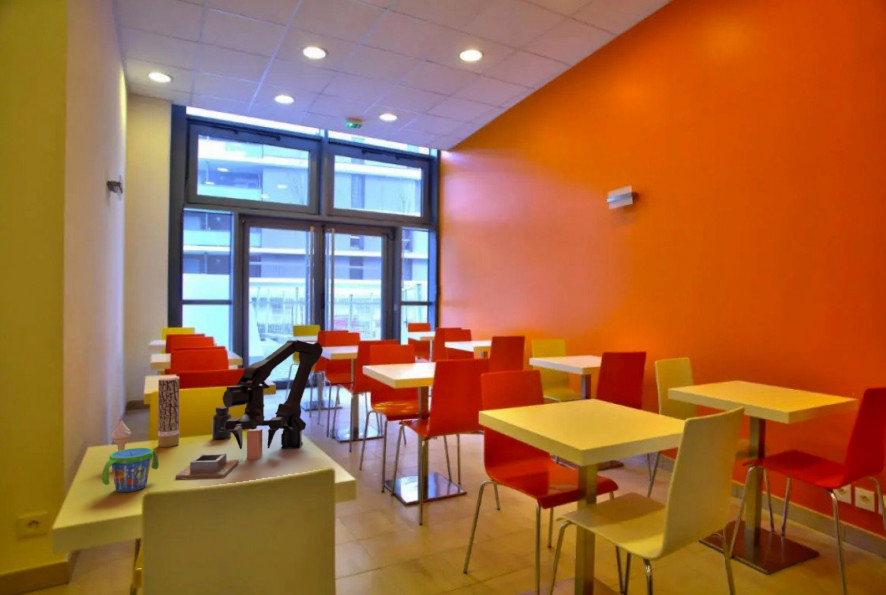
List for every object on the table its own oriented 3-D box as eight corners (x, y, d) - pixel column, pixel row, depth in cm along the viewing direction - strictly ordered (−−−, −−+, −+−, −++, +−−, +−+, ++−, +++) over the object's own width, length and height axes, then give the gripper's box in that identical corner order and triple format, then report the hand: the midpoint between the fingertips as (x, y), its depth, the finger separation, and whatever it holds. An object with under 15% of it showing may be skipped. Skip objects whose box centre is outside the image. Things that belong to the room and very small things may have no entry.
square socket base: (239, 463, 167) (239, 450, 167) (223, 477, 153) (223, 464, 153) (194, 464, 166) (194, 451, 166) (175, 478, 152) (175, 465, 152)
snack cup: (147, 477, 153) (147, 443, 154) (169, 482, 148) (169, 447, 149) (91, 494, 140) (91, 457, 140) (113, 501, 135) (113, 462, 135)
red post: (262, 454, 176) (262, 428, 176) (259, 458, 172) (258, 431, 172) (250, 455, 176) (250, 428, 176) (246, 458, 172) (246, 431, 172)
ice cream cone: (109, 469, 160) (110, 422, 160) (111, 465, 165) (112, 418, 165) (130, 467, 163) (130, 420, 163) (132, 462, 168) (132, 416, 168)
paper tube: (182, 444, 189) (183, 377, 190) (164, 448, 183) (164, 379, 184) (172, 441, 193) (172, 375, 193) (154, 446, 187) (154, 378, 187)
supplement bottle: (224, 440, 194) (224, 409, 194) (208, 439, 196) (208, 408, 196) (235, 436, 201) (235, 405, 201) (219, 435, 202) (219, 405, 202)
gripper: (218, 408, 165) (218, 456, 165) (276, 407, 167) (276, 454, 167) (230, 401, 177) (229, 446, 176) (284, 400, 178) (284, 445, 178)
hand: (254, 448), depth 174 cm, fingers open, 9 cm apart
